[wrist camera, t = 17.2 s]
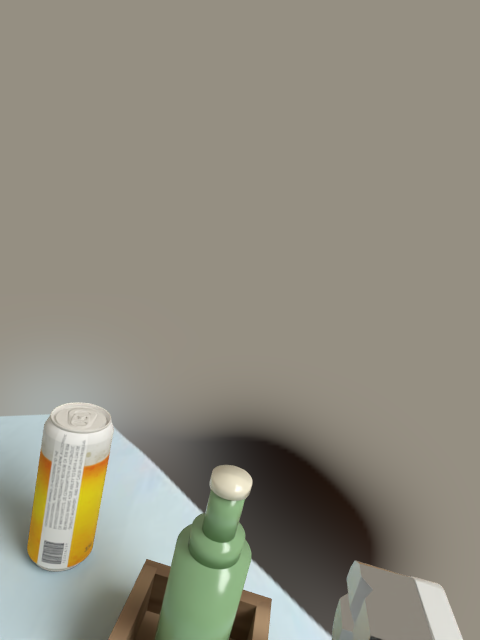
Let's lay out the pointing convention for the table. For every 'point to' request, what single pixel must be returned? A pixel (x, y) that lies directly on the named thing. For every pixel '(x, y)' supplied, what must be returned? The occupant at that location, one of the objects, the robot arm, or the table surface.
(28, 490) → the table surface
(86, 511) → the beer can
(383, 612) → the robot arm
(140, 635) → the tray
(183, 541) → the bottle
